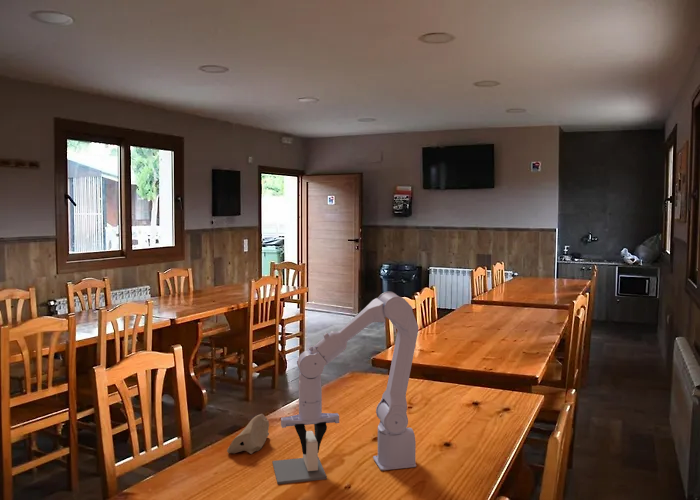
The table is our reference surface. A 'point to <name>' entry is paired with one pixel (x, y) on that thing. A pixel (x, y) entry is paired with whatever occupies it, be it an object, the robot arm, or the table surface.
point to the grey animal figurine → (251, 436)
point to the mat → (296, 471)
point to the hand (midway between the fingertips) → (310, 452)
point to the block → (311, 452)
